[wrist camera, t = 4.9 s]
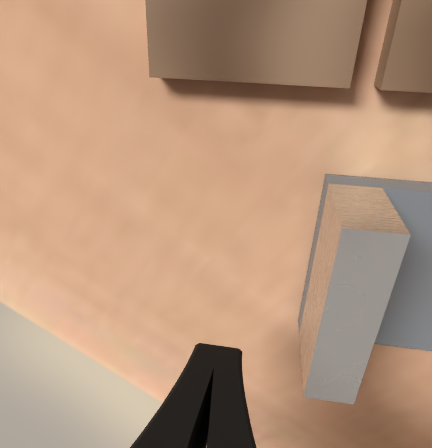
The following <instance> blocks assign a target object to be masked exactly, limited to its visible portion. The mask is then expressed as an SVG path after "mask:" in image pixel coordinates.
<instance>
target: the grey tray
mask: <svg viewBox="0 0 432 448" xmlns="http://www.w3.org/2000/svg"><path fill="white" fill-rule="evenodd" d="M298 323H299V338H300V353H301V368H302V383H303V397H305V398H312V399H319V400H326V401H333V402H340V403H346V404H353V405H354V402H355V399H356V396H357V393H358V390H359V387H360V384H361V381H362V378H363V375H364V372H365V370H366V367H367V364H368V361H369V358H370V355H371V352H372V349H373V346H374V344H380V345H388V346H395V347H403V348H411V349H419V350H426V351H432V183H430V182H417V181H405V180H393V179H380V178H368V177H356V176H343V175H331V174H326V175H325V180H324V185H323V191H322V196H321V201H320V207H319V212H318V217H317V223H316V228H315V233H314V239H313V244H312V249H311V255H310V260H309V265H308V271H307V276H306V281H305V287H304V292H303V297H302V303H301V308H300V313H299V319H298Z"/></svg>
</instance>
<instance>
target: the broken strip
mask: <svg viewBox="0 0 432 448" xmlns="http://www.w3.org/2000/svg"><path fill="white" fill-rule="evenodd" d="M366 4H367V0H146V19H147V37H148V56H149V75H150V77H155V78H173V79H191V80H209V81H226V82H244V83H262V84H280V85H298V86H316V87H334V88H350V85H351V80H352V75H353V70H354V65H355V60H356V55H357V50H358V45H359V40H360V35H361V30H362V25H363V19H364V14H365V9H366ZM374 86H375V87H377V88H378V89H380V90H387V91H405V92H423V93H432V0H393V3H392V8H391V12H390V16H389V21H388V25H387V30H386V34H385V38H384V43H383V47H382V52H381V56H380V60H379V65H378V69H377V74H376V78H375V83H374Z"/></svg>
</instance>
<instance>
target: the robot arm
mask: <svg viewBox="0 0 432 448" xmlns="http://www.w3.org/2000/svg"><path fill="white" fill-rule="evenodd" d="M206 445H207V447H206ZM130 448H256V444H255V440H254V437H253V432H252V428H251V424H250V419H249V414H248V409H247V404H246V398H245V392H244V384H243V376H242V351H241V350H240V349H238V348H231V347H224V346H216V345H209V344H202V343H199V344H197V345H196V346H195V348H194V350H193V353H192V355H191V357H190V359H189V361H188V363H187V364H186V366H185V368H184V370H183V372H182V373H181V375H180V377H179V378H178V380H177V382H176V383H175V385H174V387H173V388H172V390H171V391H170V393H169V394H168V396H167V398H166V399H165V401H164V402H163V404H162V405H161V407H160V408H159V410H158V411H157V413H156V414H155V415H154V416H153V418H152V419H151V421H150V422H149V423H148V425H147V426H146V427H145V429H144V430H143V432H142V433H141V434H140V436H139V437H138V438H137V440H136V441H135V442H134V443H133V444H132V446H131V447H130Z"/></svg>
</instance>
